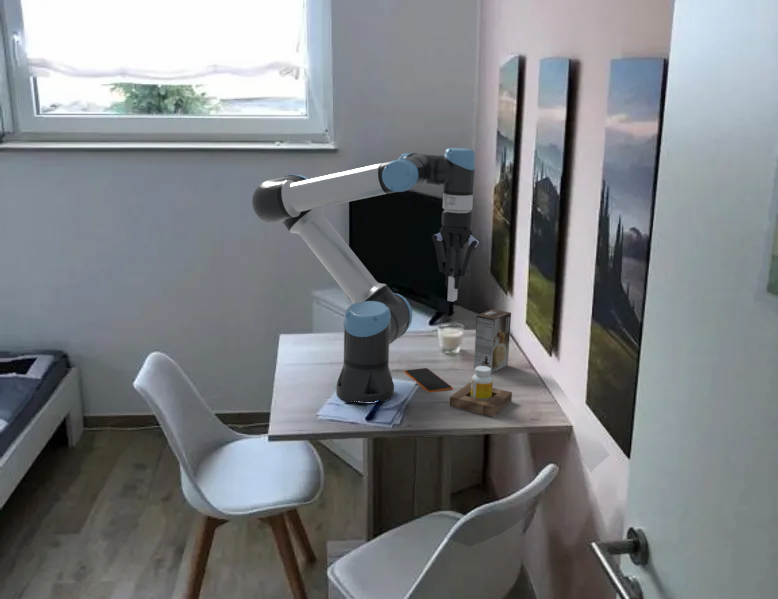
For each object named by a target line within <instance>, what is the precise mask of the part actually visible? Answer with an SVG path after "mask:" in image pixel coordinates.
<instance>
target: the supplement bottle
mask: <svg viewBox="0 0 778 599" xmlns="http://www.w3.org/2000/svg"><path fill="white" fill-rule="evenodd" d="M491 374H492V373H491V368H489V367H486V366H478V367H476V368H474V374H473V376H471V381H470V383H471V396H470V397H472V398H477V399H481V400H485V401H489V400H490V399H491V397H492V388H493V386H494V385H493V383H494V381H493V380H494V379H493V377H492V376H491Z"/></svg>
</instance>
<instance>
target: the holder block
mask: <svg viewBox="0 0 778 599" xmlns="http://www.w3.org/2000/svg"><path fill="white" fill-rule="evenodd" d="M470 396H471V382H469V383H467V384H466V385H464V386H463V387H461V388H460V389H459V390H457V391H456V392H455V393H453V394H451V395H450V396H449V404H448V405H449V407H452V408H455V409H460V410H465V411H469V412H472V413H477V414H481V415H483V416H489V417H494V416H496V415H497V414H498V413H499V412H500V411H502V410H503V409H504V408H505V407H506V406H508V404H510V403H512V399H513V392H512V391H509V390H503V389H499V388H495V387H492V397H491V399H490V400H489V401H485V400H481V399H477V398H472V397H470Z"/></svg>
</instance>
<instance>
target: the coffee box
mask: <svg viewBox="0 0 778 599" xmlns="http://www.w3.org/2000/svg"><path fill="white" fill-rule="evenodd" d="M511 318H512V312H509V311H504V310H499V309H493V308H491V309H490V310H486V311H484V312H481V313H479V314H477V315H476V319H475V321H476V322H475V336H474V337H475V341H474V357H473V369H475V368H476V367H478V366H486V367H489V368H491V374H493V373H495V372H497V371H499V370H500V369H502V368H505V367H507V366H508V365H509V350H510V349H509V348H510V336H511V320H512V319H511Z"/></svg>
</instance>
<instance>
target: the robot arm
mask: <svg viewBox="0 0 778 599" xmlns="http://www.w3.org/2000/svg"><path fill="white" fill-rule="evenodd" d="M444 152H445V153H444V155H443V154H441V155H437V154H436V155H435V154H427V153H426V154H425V153H417V152H410V153H409V152H408V153H406V152H404V153H402V154H400V156H399V157H398V159H396V158H395V159H394V160H389V161H385V162H381V163H380V162H379V163H376V164H371V165H367V166H364V167H363V166H362V167H357V168H353V169H349V170H345V171H341V172H335V173H330V174H327V175H322V176H318V177H317V176H316V177H313V178H308V177H306V176H304V175H301V174H288V175H287V174H286V175H285V176H282V177H278V178H273V179H268V180H265V181H264V182H261V183H260V184H259V185H258V186H257V187H256V188H255V189H254V192H253V194H252V199H251V204H252V206H251V207H252V208H253V211H254V213H255V215H256V216H257V217H258V218H259V219H260V220H261V221H262V222H265V223H267V224H273V225H274V224H275V225H276V224H282V223H283V225H284V226H285V227H286V229H287V230H288V231H289V232H290V234H298V235H299V236H300V238H302V240H303V241H304V242H305V244H306V245H307V246H308V247H309V249H310V250H311V251H312V253H313V254H314V255H315V257H316V258H317V259H318V260H319V261H320V263H321V264H322V265H323V266H324V268H325V269H326V271H327V272H328V273H329V274H330V275H331V277H332V278H333V279H334V280H335V281H336V283H337V284H338V285H339V287H340V288H341V290H342V291H343V292H344V293H345V295H346V296H348V298H349V299H350V301H351V302H352V304H351V305H350V306H349V307H348V308H347V309H346V310H345V311H344V319H343V366H342V367H341V370H340V374H339V375H338V376H339V377H338V379H337V382H336V387H335V390H336V395H337V397H339V398H340V399H341V400H344V401H346V402H349V401H352V402H351V403H353V402H354V401H355V402H356V401H357V402H358V401H360V402H361V401H362V402H375V401H377V400H380V401H384V402H386V401H385V400H387V401H389V400H391V399H392V398H393V397H394V396H395V384H394V381H393V377H392V376H393V375H392V373H391V370H390V369H391V368H390V367H389V363H390V362H389V360H390V359H389V358H390V356H389V355H390V345H391V344H393V342H395V341H396V340H397V339H399V338H401V337H402V336H403V335H404V334H405V333H406V332H407V330H409V328H410V326H411V325H412V321H413V310H412V306H411V305H410V302H409V300H407V299H406V298H405V297H404V296H403V295H401V294H399V293H394V292H393V291H392V289H390V287H389V286H388V284H386V283H380V282H378V281H377V280H376V279H375V278H374V276H373V275H372V274H371V272H370V271H369V270H368V269H367V267H366V266H365V265H364V264H363V263H362V261H361V260H360V259H359V257H358V256H357V255H356V254H355V252H354V251H353V250H352V249H351V247H350V246H349V244H347V242H346V241H345V240H344V238H343V237H342V236H341V235H340V234H339V232H338V231H337V230H336V228H335V227H334V226H333V224H332V223H331V222H330V221H329V219H327V217H326V216H325V213H324V211H325V207H330V206H335V205H340V204H344V203H349V202H353V201H354V202H355V201H358V200H363V199H368V198H372V197H377V196H382V195H386V194H388V195H389V194H393V193H402V192H403V193H404V192H407V191H409V190H411V189H414V188H416V187H419V186H423V185H430V186H432V185H433V186H443V187H442V188H443V190H442V191H443V192H442V193H443V194H442V195H443V196H442V209H443V211H442V212H441V227H440V229H439V232H438V233H436V234H433V235H431V239H432V242H433V243H434V248H435V254H436V260H437V266H438V272H439V273H442V274H444V276H445V280H444V281H445V282H444V283H445V284H444V285H445V288H447V300H446V301H448V302H450V303H451V302H452V303H453V302H456V301H457V300H458V290H459V289H461V287H462V278H463V277H464V276H466V275H468V274H469V273H470V271H471V270H470V269H471V267H472V266H471V265H472V263H473V259H474V256H475V253H476V250H477V247H478V246H479V245H480V244H481V240H480V239H477V238H475V237H474V236H473V232H472V228H471V227H472V220H473V219H472V218H473V217H472V216H473V212H472V210H473V205H474V204H473V201H474V200H473V199H474V182H475V170H476V164H475V162H476V161H475V160H476V157H475V156H476V154H475V152H474V149H473V150H472V149H470V148H467V147H466V148H465V147H462V148H461V147H449V148H446V150H445V151H444ZM444 243H445V247H444ZM467 243H468V248H467V250H466V253H465V256H464V252H465V245H466V244H467ZM445 250H446V251H445ZM393 395H394V396H393ZM392 396H393V397H392ZM391 397H392V398H391ZM390 398H391V399H390ZM388 399H389V400H388Z"/></svg>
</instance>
